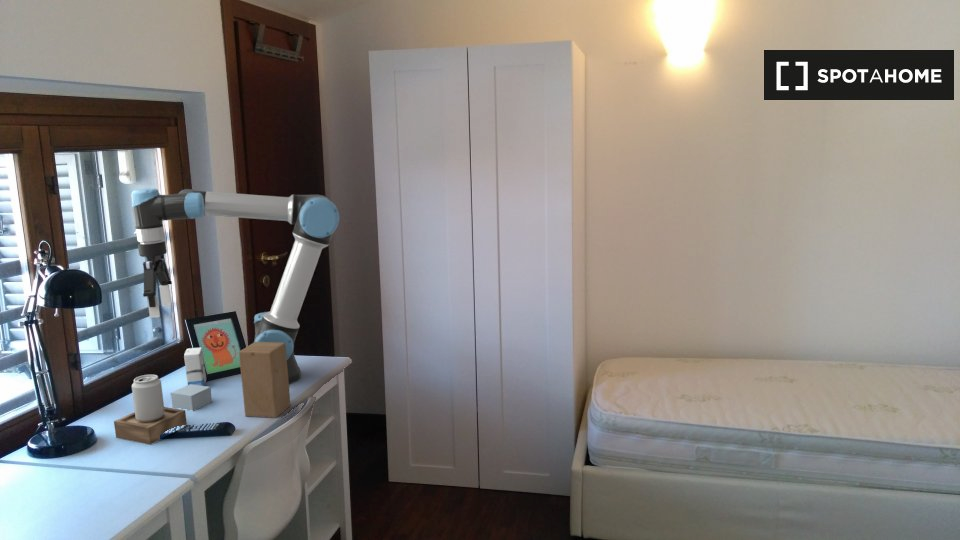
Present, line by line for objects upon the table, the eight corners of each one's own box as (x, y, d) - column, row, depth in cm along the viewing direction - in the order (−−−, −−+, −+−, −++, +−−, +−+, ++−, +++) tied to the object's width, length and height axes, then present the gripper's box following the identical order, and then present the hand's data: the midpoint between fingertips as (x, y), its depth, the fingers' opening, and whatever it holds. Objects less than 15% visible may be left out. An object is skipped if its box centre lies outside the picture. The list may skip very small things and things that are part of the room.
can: (147, 412, 214) (142, 372, 212) (170, 413, 212) (166, 373, 210) (130, 422, 207) (124, 381, 204) (154, 424, 205) (149, 382, 203)
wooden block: (276, 418, 217) (270, 352, 213) (244, 416, 219) (238, 351, 215) (291, 405, 227) (285, 342, 223) (260, 404, 229) (254, 341, 225)
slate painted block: (192, 399, 235) (190, 384, 235) (211, 402, 232) (210, 386, 231) (172, 408, 228) (170, 392, 227) (192, 411, 225) (191, 395, 224)
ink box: (203, 388, 244) (199, 354, 242) (187, 390, 243) (183, 355, 241) (206, 380, 252) (203, 346, 250) (190, 381, 251) (187, 348, 249)
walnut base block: (153, 420, 219) (151, 404, 218) (187, 426, 214) (185, 410, 213) (116, 437, 207) (113, 421, 206) (150, 444, 202) (148, 427, 201)
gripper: (149, 236, 232) (159, 302, 236) (124, 249, 208) (135, 323, 212) (175, 234, 233) (183, 300, 237) (153, 247, 209) (163, 321, 213)
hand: (161, 311), depth 225 cm, fingers open, 13 cm apart
